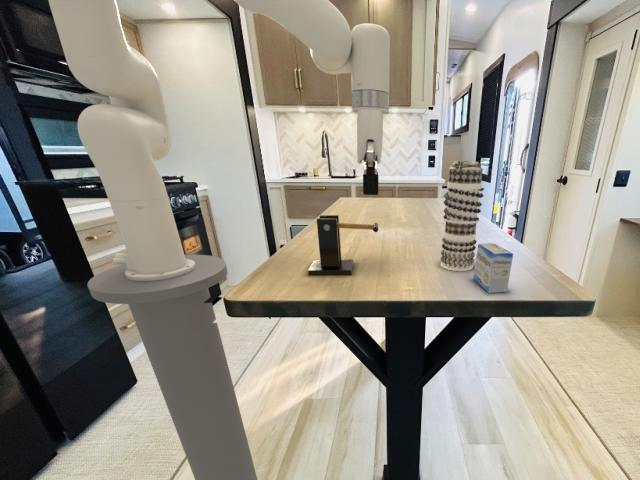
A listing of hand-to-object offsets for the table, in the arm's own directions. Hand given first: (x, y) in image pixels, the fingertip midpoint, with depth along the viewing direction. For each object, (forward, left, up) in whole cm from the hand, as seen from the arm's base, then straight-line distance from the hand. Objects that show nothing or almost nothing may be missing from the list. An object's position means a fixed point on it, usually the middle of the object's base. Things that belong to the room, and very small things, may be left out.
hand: (371, 192), depth 72 cm
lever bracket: (-10, 0, -18) cm, 21 cm away
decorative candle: (+22, +2, -19) cm, 29 cm away
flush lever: (-5, 0, -9) cm, 10 cm away
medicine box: (+26, -12, -19) cm, 34 cm away
